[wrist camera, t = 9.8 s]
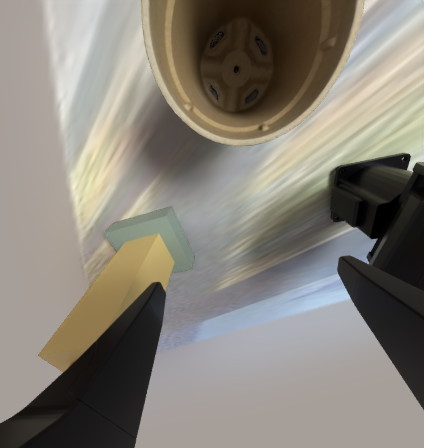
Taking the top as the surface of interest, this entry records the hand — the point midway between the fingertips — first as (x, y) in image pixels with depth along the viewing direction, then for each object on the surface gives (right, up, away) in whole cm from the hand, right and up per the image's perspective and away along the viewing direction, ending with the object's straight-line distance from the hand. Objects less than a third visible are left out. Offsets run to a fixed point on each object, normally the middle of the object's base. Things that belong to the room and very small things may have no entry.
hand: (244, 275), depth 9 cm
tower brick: (-9, -1, +13) cm, 16 cm away
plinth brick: (-9, 0, +15) cm, 18 cm away
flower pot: (0, +15, +6) cm, 17 cm away
